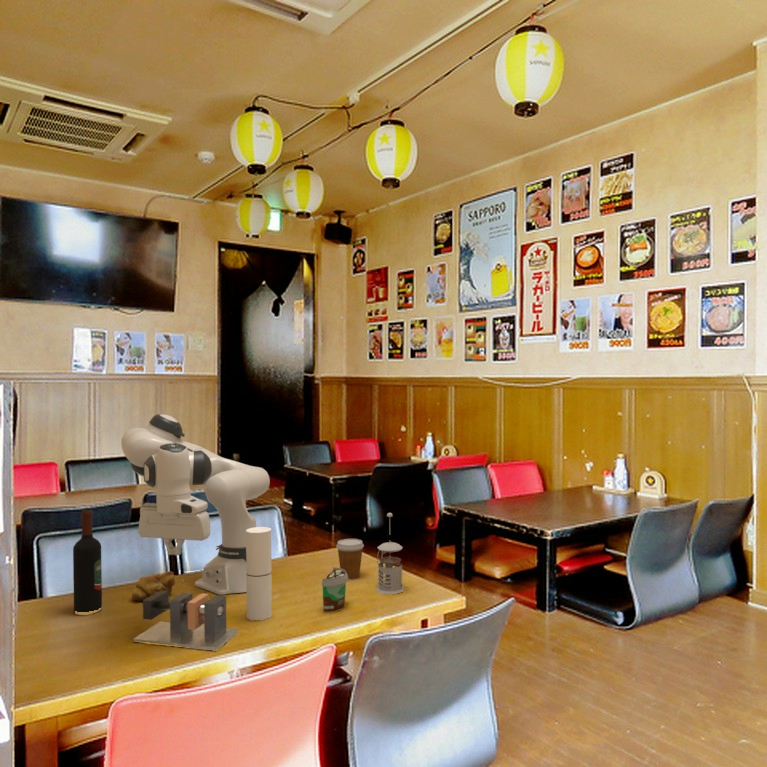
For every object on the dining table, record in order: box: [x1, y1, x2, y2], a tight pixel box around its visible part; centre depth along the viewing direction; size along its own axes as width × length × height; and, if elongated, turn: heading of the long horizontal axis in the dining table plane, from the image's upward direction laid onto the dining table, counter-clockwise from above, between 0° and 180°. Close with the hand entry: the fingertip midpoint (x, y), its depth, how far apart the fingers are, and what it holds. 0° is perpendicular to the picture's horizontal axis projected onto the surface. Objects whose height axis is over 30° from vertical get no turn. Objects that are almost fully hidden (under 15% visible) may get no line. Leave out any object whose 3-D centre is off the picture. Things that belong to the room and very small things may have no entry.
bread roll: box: [131, 570, 176, 602], centre depth 198 cm, size 13×10×8 cm
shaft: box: [142, 590, 223, 621], centre depth 166 cm, size 21×8×5 cm, turn 76°
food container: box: [321, 567, 349, 613], centre depth 188 cm, size 12×6×10 cm, turn 168°
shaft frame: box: [132, 592, 240, 652], centre depth 166 cm, size 24×12×11 cm, turn 76°
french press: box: [375, 512, 405, 595], centre depth 203 cm, size 10×12×25 cm
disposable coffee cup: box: [335, 538, 365, 580], centre depth 216 cm, size 10×10×12 cm
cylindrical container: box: [246, 526, 273, 621], centre depth 181 cm, size 7×7×25 cm
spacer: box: [188, 593, 210, 630], centre depth 165 cm, size 2×7×7 cm, turn 166°
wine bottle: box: [72, 509, 103, 612], centre depth 186 cm, size 8×8×30 cm
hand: (174, 554), depth 170 cm, fingers closed
